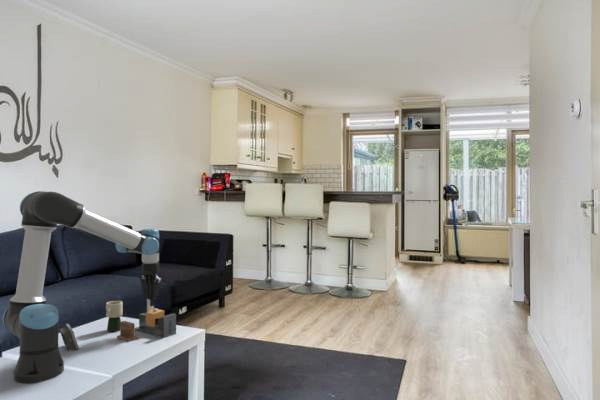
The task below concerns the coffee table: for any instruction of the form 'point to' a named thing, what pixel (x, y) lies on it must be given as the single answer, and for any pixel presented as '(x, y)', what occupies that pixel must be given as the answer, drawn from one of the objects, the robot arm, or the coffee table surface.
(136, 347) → the coffee table surface
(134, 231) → the robot arm
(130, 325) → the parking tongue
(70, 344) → the electrical switch
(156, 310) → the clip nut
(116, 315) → the character mug
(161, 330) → the rail
